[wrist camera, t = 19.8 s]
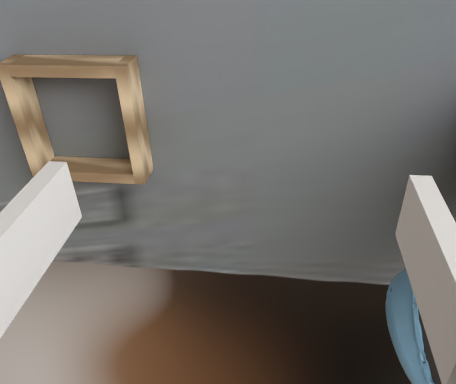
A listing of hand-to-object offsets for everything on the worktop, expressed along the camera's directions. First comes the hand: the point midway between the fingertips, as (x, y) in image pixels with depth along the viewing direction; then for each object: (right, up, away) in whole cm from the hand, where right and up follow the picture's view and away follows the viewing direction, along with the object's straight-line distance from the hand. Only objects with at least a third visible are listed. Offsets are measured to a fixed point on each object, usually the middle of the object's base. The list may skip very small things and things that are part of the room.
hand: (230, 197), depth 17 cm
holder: (-16, +9, +31) cm, 36 cm away
